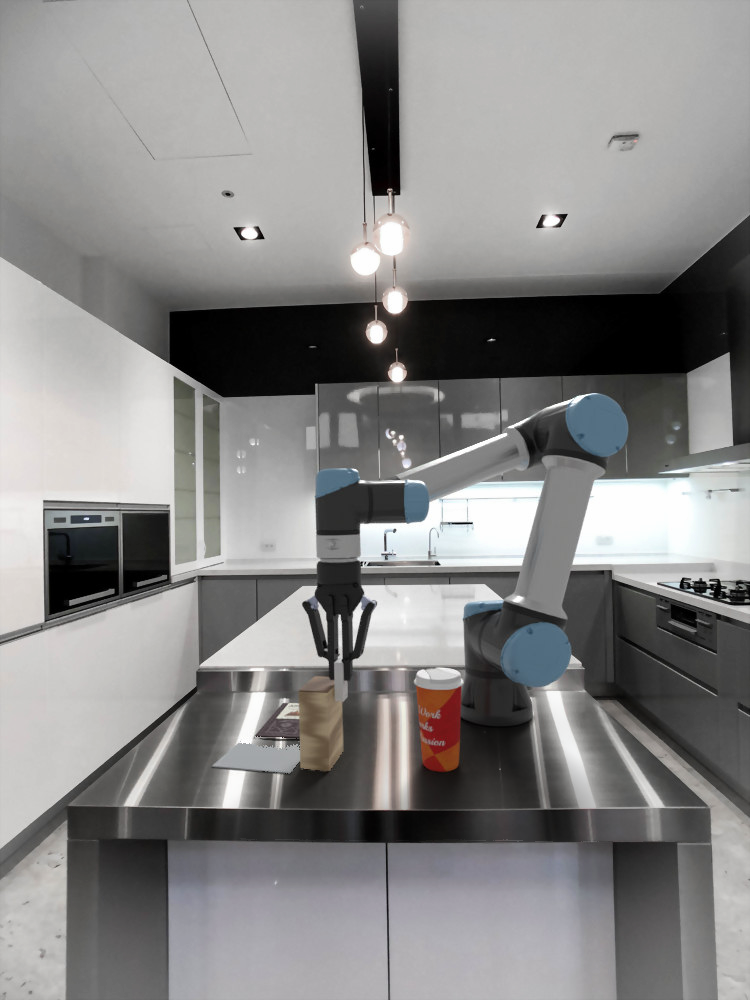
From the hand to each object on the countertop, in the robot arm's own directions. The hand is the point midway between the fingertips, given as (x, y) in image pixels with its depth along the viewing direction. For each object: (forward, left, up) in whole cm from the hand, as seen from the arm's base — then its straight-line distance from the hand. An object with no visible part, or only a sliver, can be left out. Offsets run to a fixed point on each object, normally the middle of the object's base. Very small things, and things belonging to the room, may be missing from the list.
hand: (341, 698), depth 98 cm
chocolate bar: (+16, -16, -11) cm, 25 cm away
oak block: (+4, 0, -11) cm, 11 cm away
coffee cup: (-16, -2, -11) cm, 20 cm away
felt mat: (+14, 0, -11) cm, 18 cm away
